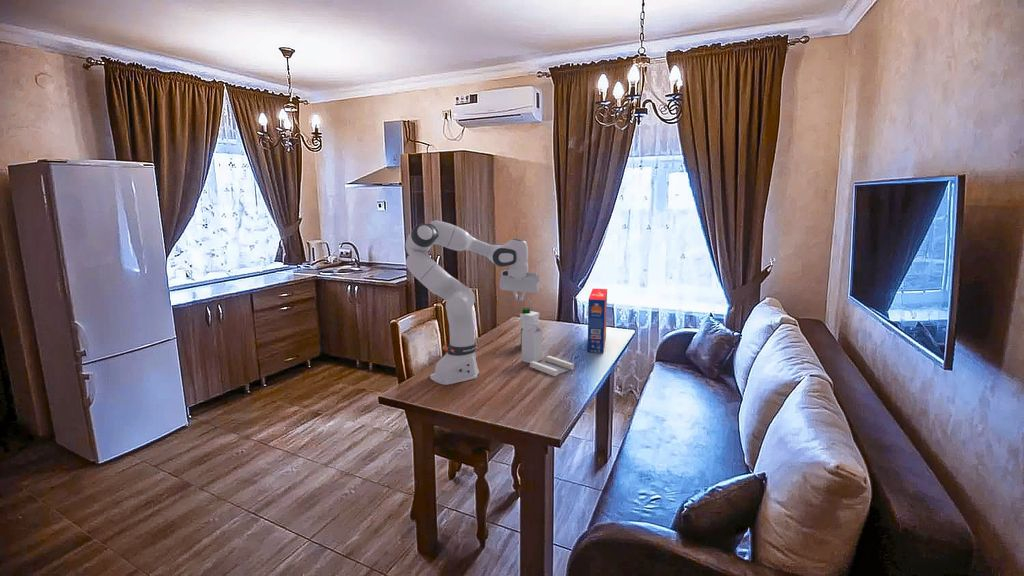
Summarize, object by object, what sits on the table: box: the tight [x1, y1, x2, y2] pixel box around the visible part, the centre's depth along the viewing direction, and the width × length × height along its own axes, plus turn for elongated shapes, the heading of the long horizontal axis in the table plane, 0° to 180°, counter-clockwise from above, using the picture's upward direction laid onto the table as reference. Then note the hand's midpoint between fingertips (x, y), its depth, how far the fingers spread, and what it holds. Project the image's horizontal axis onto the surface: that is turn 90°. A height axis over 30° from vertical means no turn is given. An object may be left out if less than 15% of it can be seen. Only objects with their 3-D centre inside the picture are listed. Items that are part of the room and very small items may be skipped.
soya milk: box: [519, 307, 540, 347], centre depth 257 cm, size 9×9×20 cm
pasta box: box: [587, 288, 608, 354], centre depth 256 cm, size 28×8×28 cm, turn 166°
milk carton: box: [521, 322, 543, 364], centre depth 233 cm, size 7×7×19 cm
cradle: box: [529, 355, 575, 377], centre depth 225 cm, size 13×16×2 cm
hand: (519, 300), depth 236 cm, fingers closed
